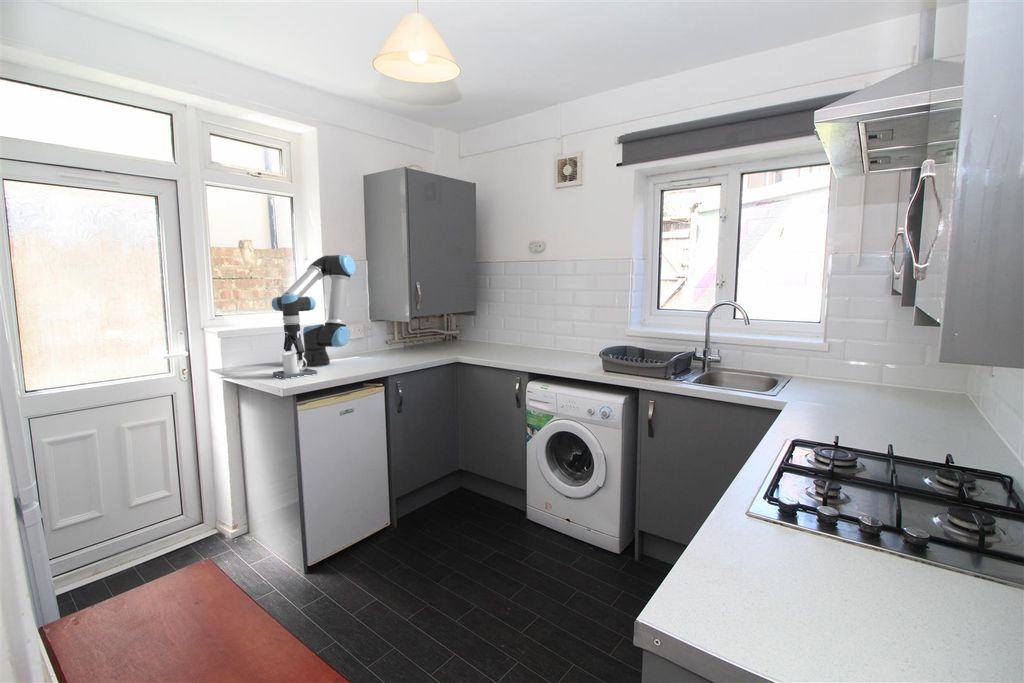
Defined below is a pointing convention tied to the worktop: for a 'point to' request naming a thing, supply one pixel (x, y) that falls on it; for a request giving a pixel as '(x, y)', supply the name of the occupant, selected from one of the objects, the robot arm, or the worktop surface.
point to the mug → (291, 364)
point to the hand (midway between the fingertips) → (294, 365)
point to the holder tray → (305, 372)
